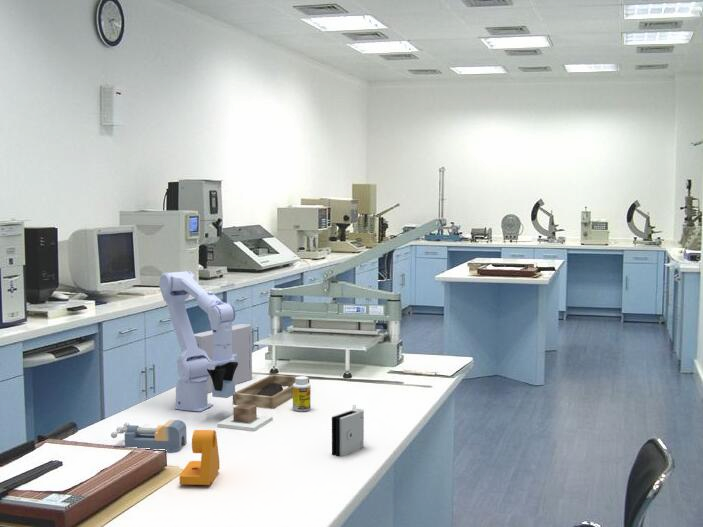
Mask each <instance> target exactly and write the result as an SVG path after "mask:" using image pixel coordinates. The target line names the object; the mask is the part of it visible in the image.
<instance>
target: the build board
mask: <svg viewBox="0 0 703 527" xmlns="http://www.w3.org/2000/svg"><path fill="white" fill-rule="evenodd" d="M272 421H274V420H273V416H272V415H271V416H268V415H260V414H257V418H256V419H255V420H253V421H251V422H249V423H245V422H236V421H234V419H233V414H232V415H230V416H228V417H227V418H224V419H223V420H221V421H218V422H217V423H216V427H217V428H223V429H224V428H225V429H232V430H239V431H241V430H242V431H249V432H255V431H257V430H259V429H260V428H262V427H264V426H266V425H267V424H268V423H270V422H272Z"/></svg>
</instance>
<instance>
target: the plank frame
mask: <svg viewBox="0 0 703 527" xmlns="http://www.w3.org/2000/svg"><path fill="white" fill-rule="evenodd" d="M296 377H297V376H293V375H282V374H270V375H268V376H266V377H264V378H262V379H260V380H258V381H256V382H254V383H252V384H249V385H247V386H246V387H243V388H241V389H239V390H238V391H235V395H232V405H234V406H235V405H236V406H238V405H240V404H251V405H256V408H264V409H266V408H267V409H273V408H274V409H275V408H277V407H279V406H281V405H282V404H284V403H286V402H288V401H289V400H291V399H293V398H292V397H293V384H294V383H295V378H296ZM268 383H278V384H281V386H282V387H286V386H290V387H286V388H285V389H284V388H283V390H282V391H281V392H279V393H277V394H275V395H273V396H262V395H256V394H257V393H259V392H260V391H261V390H262V389H263V388H264V387H265V386H266V385H267V384H268ZM308 383H309V384H310V377H308ZM290 398H291V399H290ZM285 401H286V402H285ZM283 402H284V403H283Z"/></svg>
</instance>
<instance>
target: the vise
mask: <svg viewBox="0 0 703 527" xmlns="http://www.w3.org/2000/svg"><path fill="white" fill-rule="evenodd" d="M118 434H119V435H120V434H124V448H125V447H137V448H150V449H165V450H167V452H168V453H169V454H174V453H179V452H180V451H182V446H186V445H187V424H186V423H185V422H184V421H183V420H180V419H169V420H168V421H167V422H165V423H164V424H163V425H162V424H158V425H157V426H156V427H140V426H139V425H133V424H132V425H130V423H129V422H125V423H124V424H123V426H117V427H116V431H114V432H111V434H110V437H111V438H112V439H116V438H117V437H118ZM167 452H166V453H167ZM168 453H167V454H168Z"/></svg>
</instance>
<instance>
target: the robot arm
mask: <svg viewBox="0 0 703 527" xmlns="http://www.w3.org/2000/svg"><path fill="white" fill-rule="evenodd" d="M159 278H160V279H159V281H158V282H159V283H158V286H159V290H160V293H161V296H162V298H163V299H162V300H163V301H164V302H165V303H166V307H167V310H168V313H169V316H170V320H171V322H172V325H173V328H174V331H175V336H176V337H177V338H176V339H177V341H178V345H179V347H180V351H181V353H180V354H179V356H178V357H177V359H176V361H175V362H176V365H177V374H178V376H179V378H180V379H179V380H178V381H177V383H176V387H175V407H174V409H175V410H182V411H188V412H189V411H190V412H201V413H202V412H203V411H204V410H207V409H209V408H211V407H213V406H214V404H213V403H209V402H208V401H209V399H208V393H207V380H208V379H209V376H211V379H212V382H213V385H214V389H215V391H222V388H223V380H227V381H232V380H233V376H234V373H235V370H236V368H237V366H238V362H234V361H236V360H237V354H232V326H233V324H232V323H233V322H234V320H235V319H236V315H237V314H236V308H235V307H234V305H233V304H232V303H231V302H224V301H222V300H221V299H220V298H219V296H217V295H215V292H214V291H212V290H210V291H209V290H204V288H203V287H202V286H201V285H200V284H199V282H197V281H196V275H195V274H194V273H193V272H192V271H190V270H185V271H174V272H173V271H172V272H162V274H161V276H160V277H159ZM190 296H192V297H193V298H194V299H195V300H196V301H197V303H196V304H197V306H198V307H199V308H200V309H201V310H202V311H204V312H205V313H206V314H207V317H208V320H209V323H210V329H211V330H213V358H212V360H210V359H209V358H208V355H207V353H206V352H205V351H203V350H202V349H200V348H198V345H197V342H196V339H195V336H194V334H195V333H194V330H193V327H192V324H191V321H190V318H189V314H188V312H187V308H186V305H185V300H188V299H189V297H190Z"/></svg>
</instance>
